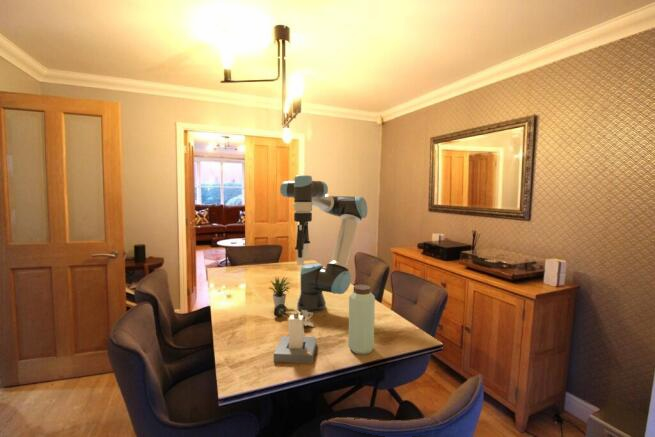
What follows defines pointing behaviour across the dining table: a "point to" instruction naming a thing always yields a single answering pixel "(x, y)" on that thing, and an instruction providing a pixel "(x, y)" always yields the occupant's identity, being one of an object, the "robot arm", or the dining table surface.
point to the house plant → (279, 291)
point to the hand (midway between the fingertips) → (302, 261)
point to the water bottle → (361, 319)
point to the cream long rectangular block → (296, 331)
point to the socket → (295, 351)
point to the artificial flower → (281, 309)
